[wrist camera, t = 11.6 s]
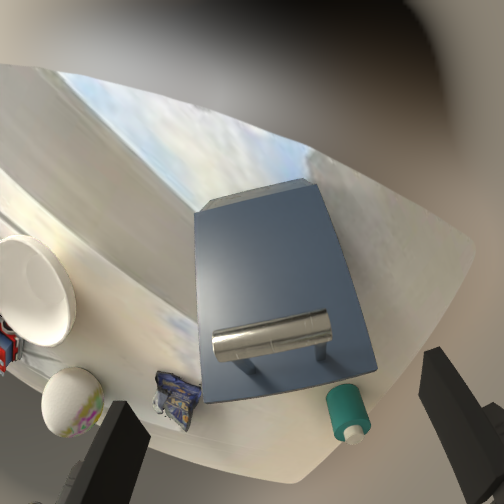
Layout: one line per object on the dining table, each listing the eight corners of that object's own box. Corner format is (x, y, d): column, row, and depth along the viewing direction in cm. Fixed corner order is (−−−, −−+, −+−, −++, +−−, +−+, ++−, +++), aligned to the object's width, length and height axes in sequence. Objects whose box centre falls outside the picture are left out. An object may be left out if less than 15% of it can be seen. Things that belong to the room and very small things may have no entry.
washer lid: (376, 371, 20) (402, 337, 13) (207, 404, 21) (155, 385, 14) (317, 189, 30) (311, 122, 24) (196, 217, 32) (166, 159, 25)
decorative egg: (95, 410, 56) (70, 458, 41) (53, 374, 53) (21, 418, 39) (120, 389, 53) (93, 444, 38) (73, 349, 50) (35, 398, 36)
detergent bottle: (358, 380, 50) (374, 423, 40) (359, 402, 52) (373, 444, 42) (324, 388, 51) (335, 433, 41) (327, 410, 53) (337, 453, 43)
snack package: (134, 388, 53) (180, 422, 55) (126, 408, 46) (177, 443, 48) (171, 353, 52) (220, 390, 54) (165, 372, 45) (220, 411, 48)
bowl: (22, 317, 49) (2, 334, 42) (4, 223, 42) (-21, 233, 36) (98, 335, 49) (81, 358, 42) (84, 227, 43) (59, 241, 36)
